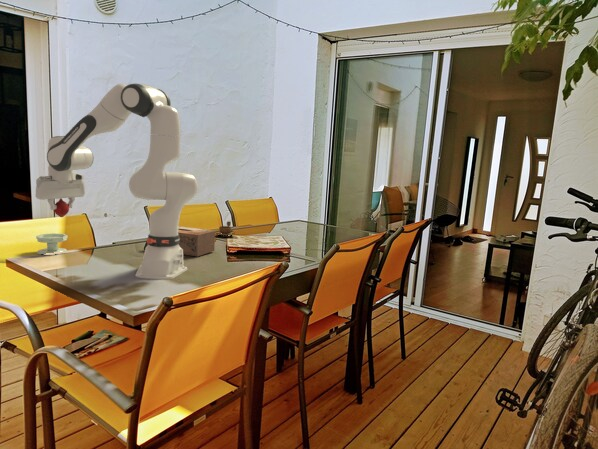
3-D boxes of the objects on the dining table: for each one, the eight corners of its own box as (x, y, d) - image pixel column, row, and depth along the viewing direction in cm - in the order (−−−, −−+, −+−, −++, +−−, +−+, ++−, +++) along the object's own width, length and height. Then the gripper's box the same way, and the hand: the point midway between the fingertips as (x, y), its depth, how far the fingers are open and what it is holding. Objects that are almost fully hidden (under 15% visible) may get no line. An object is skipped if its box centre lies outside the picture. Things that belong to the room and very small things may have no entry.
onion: (71, 217, 182) (70, 199, 181) (56, 218, 178) (55, 199, 176) (66, 215, 186) (65, 197, 185) (51, 216, 182) (51, 198, 180)
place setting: (206, 234, 257) (207, 224, 256) (227, 230, 274) (227, 221, 273) (230, 238, 249) (231, 228, 248) (250, 234, 266) (250, 224, 265)
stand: (59, 256, 182) (58, 238, 181) (32, 254, 181) (31, 237, 180) (71, 250, 193) (71, 234, 192) (46, 249, 192) (45, 233, 191)
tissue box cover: (214, 250, 211) (214, 230, 209) (197, 256, 198) (197, 234, 196) (170, 244, 220) (170, 225, 218) (151, 249, 206) (151, 228, 205)
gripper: (41, 177, 168) (42, 212, 171) (87, 175, 187) (87, 207, 189) (31, 175, 171) (32, 210, 173) (77, 174, 189) (77, 205, 192)
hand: (61, 208), depth 181 cm, fingers closed on onion, 6 cm apart
